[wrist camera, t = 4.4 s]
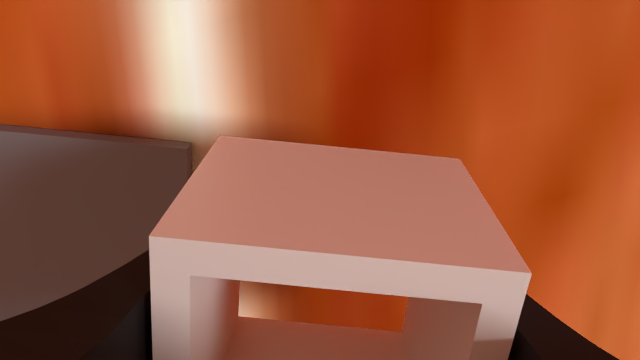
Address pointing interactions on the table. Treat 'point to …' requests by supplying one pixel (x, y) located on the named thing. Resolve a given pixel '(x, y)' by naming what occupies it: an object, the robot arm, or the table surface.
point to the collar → (332, 255)
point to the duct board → (78, 207)
